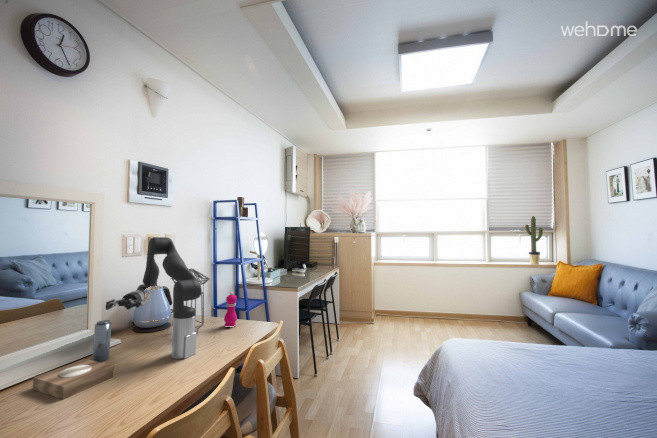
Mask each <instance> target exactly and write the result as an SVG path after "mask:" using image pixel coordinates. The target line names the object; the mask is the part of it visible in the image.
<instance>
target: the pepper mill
mask: <svg viewBox="0 0 657 438" xmlns="http://www.w3.org/2000/svg"><path fill="white" fill-rule="evenodd" d="M225 301H226V307H227V310H226V313H225V315H224V317H223V321H224V322H225V323H224V327H225V326H234V325H236V326H237V320H238V316H237V313H236V311H235V310H236V308H235V307H236V304H237V303H236V302H237V301H238V299H237V295H235V294H234V292H233V291H231V292H230V294H228V295H227V296H226V298H225Z"/></svg>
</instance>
